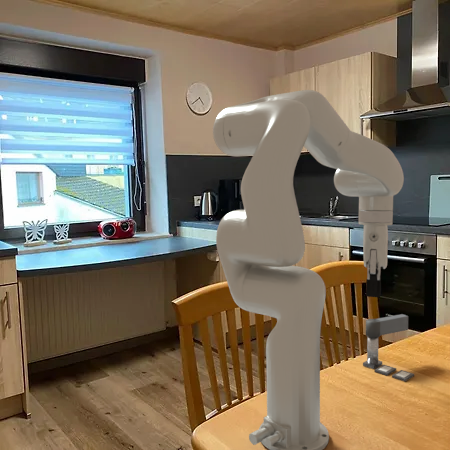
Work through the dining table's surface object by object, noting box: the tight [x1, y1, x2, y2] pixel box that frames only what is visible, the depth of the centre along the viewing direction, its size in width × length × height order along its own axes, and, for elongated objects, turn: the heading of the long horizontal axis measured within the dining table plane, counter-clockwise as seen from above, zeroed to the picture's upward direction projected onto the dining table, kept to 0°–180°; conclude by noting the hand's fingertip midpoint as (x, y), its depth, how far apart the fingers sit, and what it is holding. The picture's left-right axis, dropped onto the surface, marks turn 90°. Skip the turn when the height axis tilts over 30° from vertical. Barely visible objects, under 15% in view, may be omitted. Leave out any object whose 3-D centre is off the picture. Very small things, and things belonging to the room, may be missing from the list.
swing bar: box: [365, 313, 409, 338], centre depth 117 cm, size 3×12×4 cm, turn 114°
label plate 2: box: [391, 369, 415, 382], centre depth 110 cm, size 4×3×1 cm
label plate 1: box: [374, 364, 397, 377], centre depth 113 cm, size 4×3×1 cm
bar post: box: [362, 336, 383, 370], centre depth 116 cm, size 4×3×7 cm
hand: (373, 296), depth 110 cm, fingers closed
